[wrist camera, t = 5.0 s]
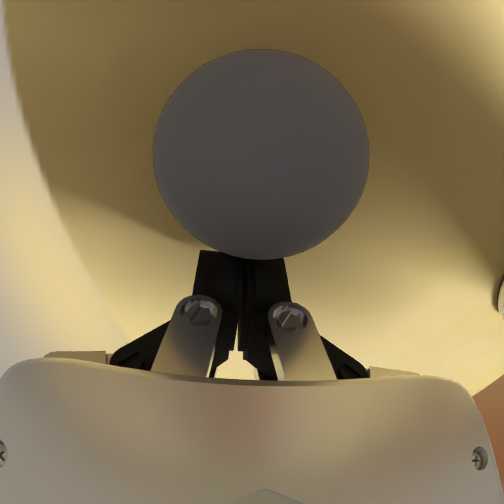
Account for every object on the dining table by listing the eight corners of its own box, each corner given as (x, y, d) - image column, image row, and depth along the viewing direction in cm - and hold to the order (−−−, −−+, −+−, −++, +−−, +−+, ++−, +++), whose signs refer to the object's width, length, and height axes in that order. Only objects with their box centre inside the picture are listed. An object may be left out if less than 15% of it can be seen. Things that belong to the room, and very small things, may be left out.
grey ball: (355, 194, 12) (448, 205, 6) (225, 266, 12) (215, 340, 6) (283, 66, 10) (320, -20, 4) (150, 136, 11) (76, 96, 5)
